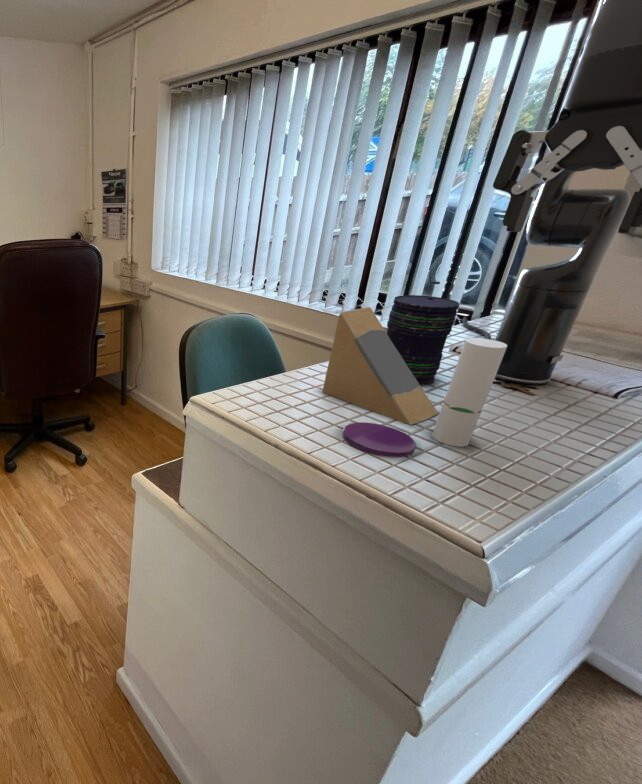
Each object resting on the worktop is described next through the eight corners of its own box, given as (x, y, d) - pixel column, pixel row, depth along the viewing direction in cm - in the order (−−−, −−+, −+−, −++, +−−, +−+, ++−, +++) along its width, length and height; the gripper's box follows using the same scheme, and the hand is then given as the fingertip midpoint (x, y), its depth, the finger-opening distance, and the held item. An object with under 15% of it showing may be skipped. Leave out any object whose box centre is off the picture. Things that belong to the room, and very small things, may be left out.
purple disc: (344, 421, 74) (345, 417, 73) (413, 435, 69) (414, 431, 69) (340, 446, 67) (341, 441, 67) (416, 464, 62) (418, 459, 62)
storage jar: (425, 390, 84) (457, 292, 77) (365, 375, 91) (390, 284, 84) (441, 376, 90) (473, 283, 82) (384, 363, 97) (408, 277, 89)
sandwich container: (411, 426, 72) (441, 334, 66) (320, 392, 84) (339, 312, 78) (441, 413, 75) (472, 325, 69) (350, 382, 88) (369, 305, 82)
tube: (424, 433, 70) (457, 338, 64) (450, 431, 70) (485, 337, 64) (448, 447, 66) (486, 348, 60) (476, 445, 66) (516, 346, 60)
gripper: (773, 38, 39) (679, 236, 45) (548, 79, 51) (494, 232, 56) (761, 13, 36) (661, 232, 41) (522, 64, 47) (468, 229, 53)
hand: (565, 232), depth 49 cm, fingers open, 8 cm apart
